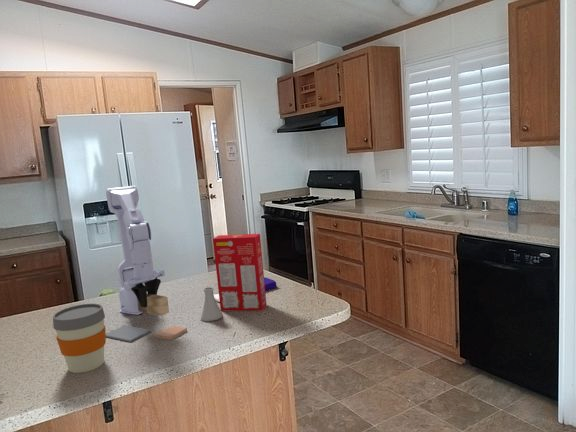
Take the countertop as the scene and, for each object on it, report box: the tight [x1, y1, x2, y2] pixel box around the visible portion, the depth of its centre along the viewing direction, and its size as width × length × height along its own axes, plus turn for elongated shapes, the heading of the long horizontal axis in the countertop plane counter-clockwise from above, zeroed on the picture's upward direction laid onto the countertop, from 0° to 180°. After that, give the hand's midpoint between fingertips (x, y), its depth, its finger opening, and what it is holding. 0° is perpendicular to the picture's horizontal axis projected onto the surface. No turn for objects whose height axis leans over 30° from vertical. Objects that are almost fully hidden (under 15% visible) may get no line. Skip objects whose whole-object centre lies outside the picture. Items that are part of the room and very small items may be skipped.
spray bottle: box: [213, 276, 277, 303], centre depth 176 cm, size 3×11×24 cm
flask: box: [200, 286, 223, 322], centre depth 152 cm, size 7×7×10 cm
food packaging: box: [212, 233, 267, 312], centre depth 158 cm, size 15×5×25 cm, turn 78°
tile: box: [155, 325, 188, 341], centre depth 142 cm, size 2×7×6 cm
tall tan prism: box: [137, 293, 170, 317], centre depth 144 cm, size 10×3×5 cm, turn 60°
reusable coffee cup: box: [52, 303, 107, 374], centre depth 124 cm, size 13×13×15 cm
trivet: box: [106, 324, 152, 343], centre depth 144 cm, size 12×8×1 cm, turn 60°
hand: (148, 304), depth 145 cm, fingers closed on tall tan prism, 3 cm apart
